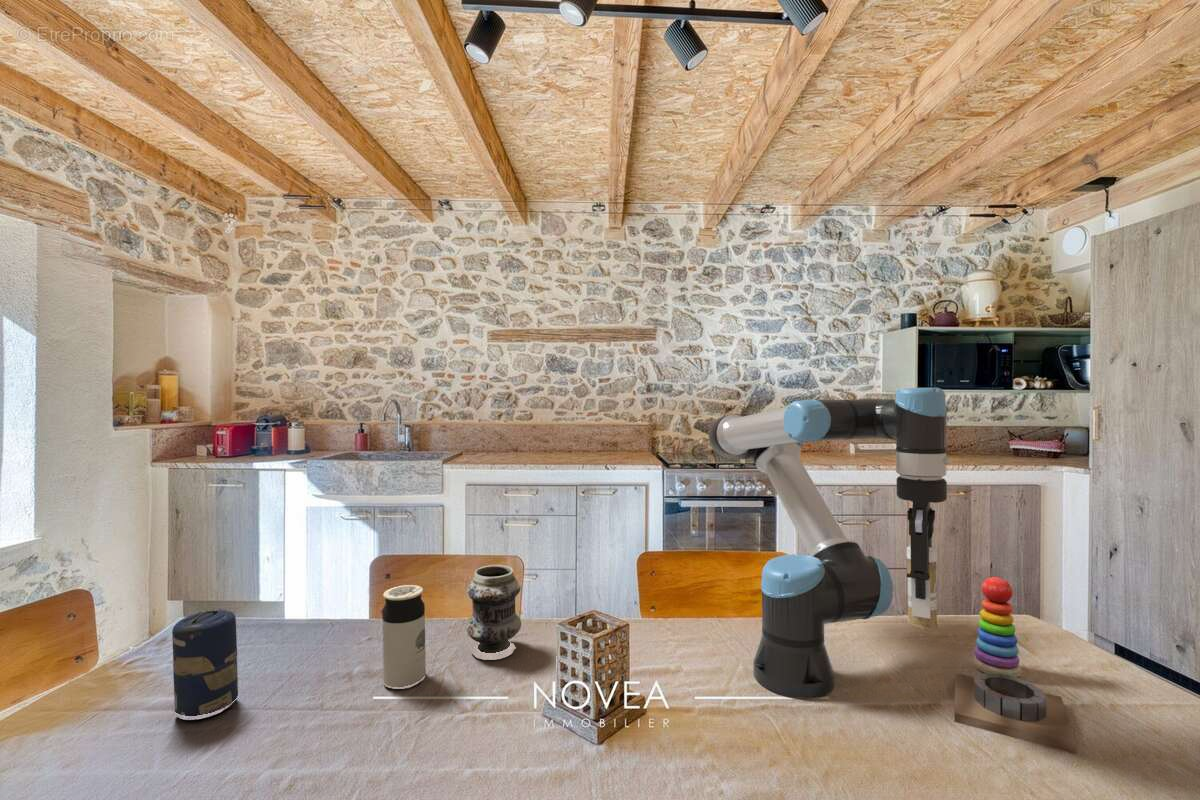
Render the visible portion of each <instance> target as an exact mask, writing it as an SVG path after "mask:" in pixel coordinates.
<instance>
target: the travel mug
mask: <svg viewBox="0 0 1200 800" xmlns="http://www.w3.org/2000/svg"><path fill="white" fill-rule="evenodd" d="M423 593H424V588H423V587H421V586H420V585H415V584H404V585H399V586H394V587H392V588H389V589H387V590H385V591H384V593H383V595H382V596H383V598H384V599H385V604H384V606H383V608H382V611H381V615H382V671H383V672H382V673H383V675H382V677H383V678H382V679H383V681H384V683H385V684H386V685H388V686H391V687H404V686H408V685H412V684H414V683H416V682H418V681H420V680H421V679H422V678H423V677H424V676H425V674H426V675H427V673H426V672H427V671H426V669H427V668H426V612H425V611H426V608H425V607H426V606H425V602H424V601H423V599H422V595H423Z"/></svg>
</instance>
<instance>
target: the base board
mask: <svg viewBox="0 0 1200 800" xmlns="http://www.w3.org/2000/svg"><path fill="white" fill-rule="evenodd" d="M954 675H955V676H954V677H955V678H954V681H955V682H954V723H955V722H956V723H958V724H963V725H966V726H971V727H974V728H978V729H983V730H984V731H985V730H986V731H990V732H992V733H997V734H1000V735H1004V736H1007V737H1010V738H1011V737H1012V738H1015V739H1019V740H1023V741H1026V742H1029V743H1034V744H1037V745H1042V746H1045V747H1050V748H1052V749H1053V748H1054V749H1057V750H1061V751H1064V752H1068V753H1072V754H1075V755H1077V754H1078V752H1077V750H1078V745H1077V741H1076V739H1075V735H1074V732H1073V729H1072V725H1071V722H1070V720H1069V717H1068V714H1067V710H1066V707H1065V705H1064V701H1063V698H1062V696H1059V695H1055V694H1051V693H1047V692H1044V693H1045V696H1046V718H1044V719H1042V720H1040V721H1037V722H1033V721H1021V720H1020V721H1018V720H1014V719H1010V718H1006V717H1003V716H1002V715H1001V716H1000V715H998V714H996V713H993V712H991V711H989V710H987V709H985V708H984V707H982V706H981V705H980V704H979V703H978V702H977V701H976V700H975V679H974V677H975V676H971V675H967V674H963V673H958V672H955V674H954ZM1002 695H1004V694H1002ZM1005 696H1008V695H1005ZM1009 697H1013V696H1009ZM1013 698H1016V697H1013Z"/></svg>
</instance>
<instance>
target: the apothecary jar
mask: <svg viewBox="0 0 1200 800" xmlns="http://www.w3.org/2000/svg"><path fill="white" fill-rule="evenodd" d="M473 574H474V576H473V579H472V580H471V581H470V582H469V583H468V584H467V587H466V594H467V596H468V598H470V599H471V600H472V605H471V606H472V610H471V617H470V618H468V620H467V622H466V625H465V626H466V627H465V629H466V633H467V635H468V636H469V637H470V638H471V640H474V641H475V642H477V643H480V644H479V645H478V649H479V650H480V651H481V652H485V653H496V652H500V651H503V650H505V649H507V648H508V647H509V646H510V642H509V641H510V640H511V639H513V638H514V637H515V636H516V635H517V634H518V633H519V631H520V630H521V628H522V627H521V626H522V621H521V618H520V616H519V615H518V614H517V613H516V597H517V596H518V595H519V594H520V591H521V588H522V587H521V582H520V581H519V580H518V578H517V577H516V576H515V573H514V569H513V568H512V567H511V566H508V565H505V564H504V565H502V564H492V565H490V564H489V565H484V566H482V567H479V568H477V569H475V571H474V573H473ZM508 640H509V641H508Z"/></svg>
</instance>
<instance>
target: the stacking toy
mask: <svg viewBox="0 0 1200 800" xmlns="http://www.w3.org/2000/svg"><path fill="white" fill-rule="evenodd" d="M981 592H982V594H983V595H984V597H985V598H986V599H983V601H982V602H981V605H982V609H981V610H980V611H979V616H980V619H979V621H978V625H979V628H978V629H977V636H978V637H977V639H976V646H975V647H974V649H973V651H974V652H973V653H974V656H973V660H972V662H973V665H974V666H975V667H976V669H978V670H979V671H981V672H982V673H983V674H984V673H998V674H1004V675H1008V676H1013V677H1015V678H1019V677H1020V676H1021V675H1022V672H1023V671H1022V668H1021V667H1022V666H1021V665H1019V664H1020V657H1019V656H1018V655H1019V652H1020V650H1019V647H1018V645H1017V644H1018V637H1017V636H1016V635H1015V632H1016V627H1015V625H1014V623H1013V622H1014V616H1013V615H1012V612H1013V607H1012V605H1011V604H1010V603H1009V601H1010V600H1011V599H1012V597H1013V588H1012V586H1011V584H1010V583H1009V582H1008V581H1007V580H1005V579H1003V578H1001V577H998V576H997V577H996V576H991V577H987V578H986V579H985V580H984V581H983V582H982V584H981Z"/></svg>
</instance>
